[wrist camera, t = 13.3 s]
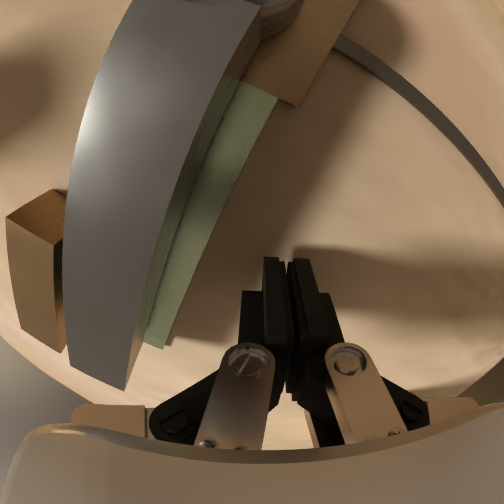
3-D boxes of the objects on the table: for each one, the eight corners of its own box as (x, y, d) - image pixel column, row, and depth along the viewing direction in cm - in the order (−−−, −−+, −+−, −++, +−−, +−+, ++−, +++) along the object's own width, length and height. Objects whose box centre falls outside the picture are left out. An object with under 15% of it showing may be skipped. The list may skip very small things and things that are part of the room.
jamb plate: (548, 96, 5) (552, 97, 5) (484, 251, 11) (488, 255, 10) (261, -119, 1) (261, -122, 1) (121, 45, 7) (116, 43, 6)
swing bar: (213, -55, 4) (193, -110, 1) (321, -22, 5) (352, -76, 2) (86, 316, 12) (55, 367, 9) (153, 346, 13) (133, 405, 10)
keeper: (283, 88, 8) (296, 76, 5) (162, 349, 14) (148, 395, 11) (97, 32, 6) (48, 17, 4) (48, 293, 13) (21, 328, 10)
